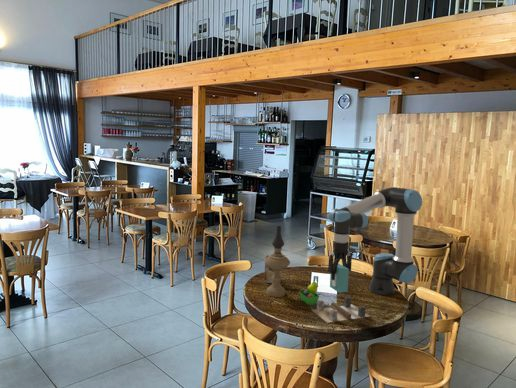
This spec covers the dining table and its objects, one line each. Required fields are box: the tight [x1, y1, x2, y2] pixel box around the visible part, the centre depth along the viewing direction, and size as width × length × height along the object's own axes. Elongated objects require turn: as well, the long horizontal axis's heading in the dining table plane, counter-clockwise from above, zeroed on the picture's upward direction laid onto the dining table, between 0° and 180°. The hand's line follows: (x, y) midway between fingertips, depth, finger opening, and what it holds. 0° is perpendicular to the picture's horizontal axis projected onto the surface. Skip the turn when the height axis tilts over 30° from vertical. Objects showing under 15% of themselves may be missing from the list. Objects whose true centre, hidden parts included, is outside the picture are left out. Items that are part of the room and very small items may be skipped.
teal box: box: [329, 263, 350, 294], centre depth 210 cm, size 5×9×12 cm, turn 22°
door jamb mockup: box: [311, 296, 371, 324], centre depth 213 cm, size 26×16×6 cm, turn 112°
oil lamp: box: [264, 225, 291, 298], centre depth 236 cm, size 15×15×40 cm
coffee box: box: [263, 254, 281, 284], centre depth 257 cm, size 9×6×16 cm
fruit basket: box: [298, 281, 320, 306], centre depth 227 cm, size 11×9×11 cm
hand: (338, 284), depth 211 cm, fingers closed on teal box, 5 cm apart
